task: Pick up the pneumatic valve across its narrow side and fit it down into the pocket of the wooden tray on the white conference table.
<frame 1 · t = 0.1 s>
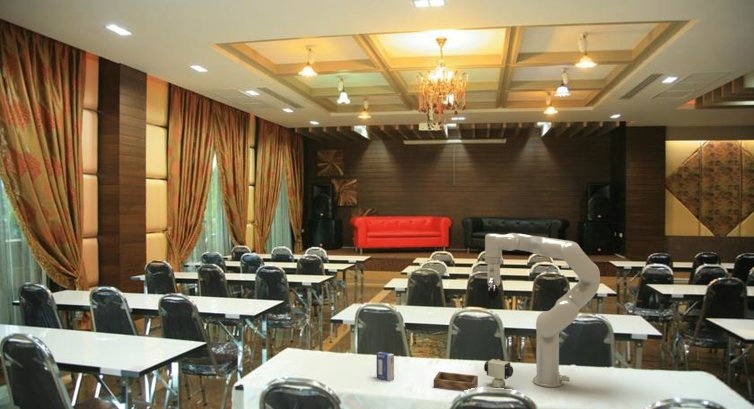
hand: (493, 297, 245), 37 cm above the table, tool pointing down, fingers open, 9 cm apart
walkman: (385, 379, 242), on the table
wooden tray: (455, 385, 234), on the table
pneumatic valve: (498, 387, 233), on the table
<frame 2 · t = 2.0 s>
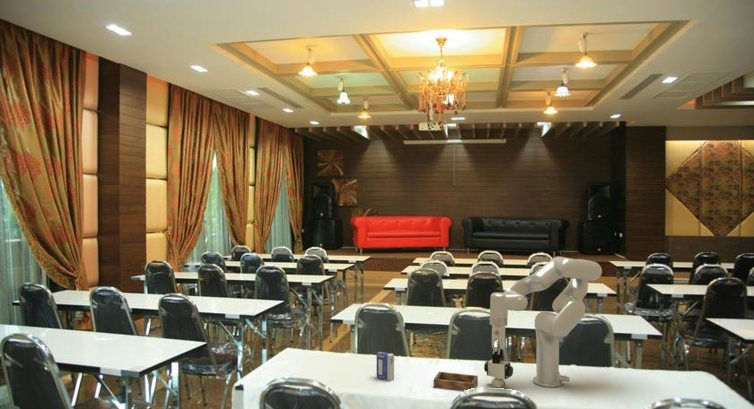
hand: (497, 360, 232), 11 cm above the table, tool pointing down, fingers open, 9 cm apart
nothing on the table moved.
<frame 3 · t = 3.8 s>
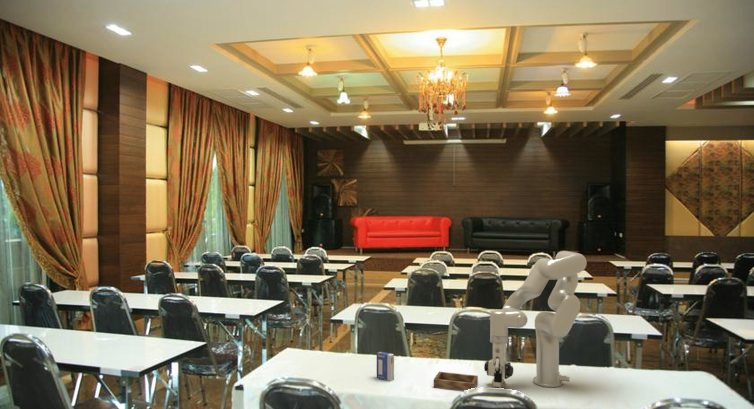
hand: (498, 379, 233), 3 cm above the table, tool pointing down, fingers closed on pneumatic valve, 5 cm apart
pneumatic valve: (498, 386, 233), on the table, touching gripper
everything else where it was.
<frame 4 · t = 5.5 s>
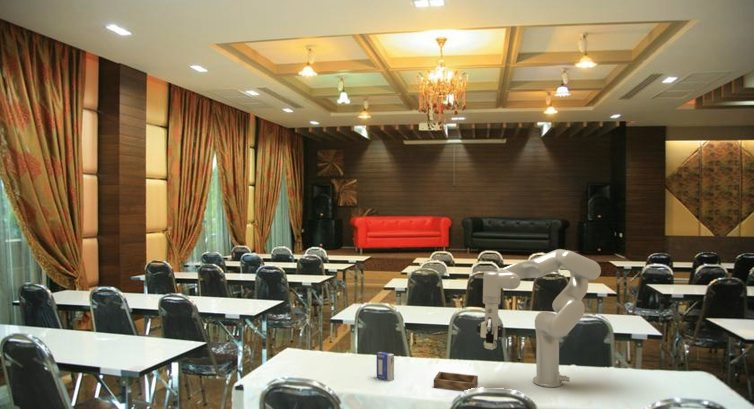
hand: (490, 340, 233), 20 cm above the table, tool pointing down, fingers closed on pneumatic valve, 5 cm apart
pneumatic valve: (490, 348, 233), point 17 cm above the table, touching gripper
everything else where it was.
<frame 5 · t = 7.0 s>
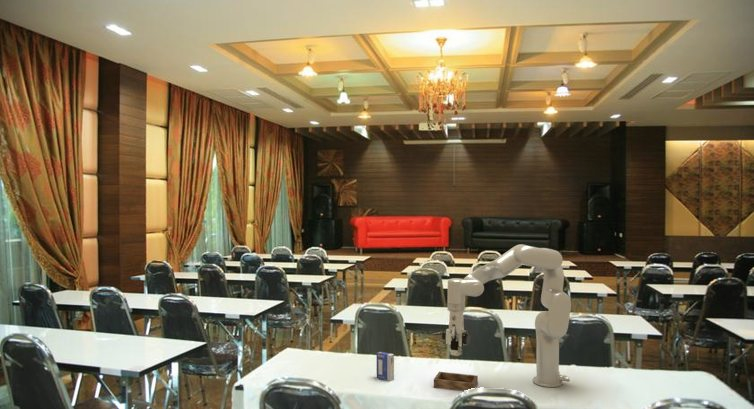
hand: (455, 347, 234), 17 cm above the table, tool pointing down, fingers closed on pneumatic valve, 5 cm apart
pneumatic valve: (456, 355, 234), point 13 cm above the table, touching gripper
everything else where it was.
when the fingers open (5 cm above the table, at t = 9.8 s): pneumatic valve drops 1 cm, resting on wooden tray.
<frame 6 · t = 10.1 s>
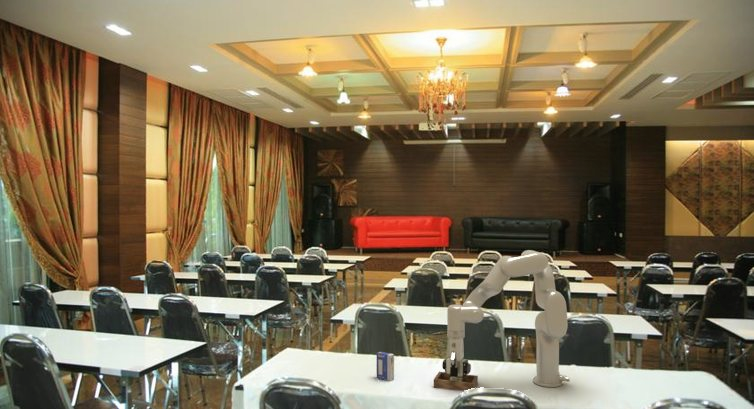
hand: (455, 372, 234), 6 cm above the table, tool pointing down, fingers open, 8 cm apart
pneumatic valve: (456, 384, 234), resting on wooden tray
everything else where it was.
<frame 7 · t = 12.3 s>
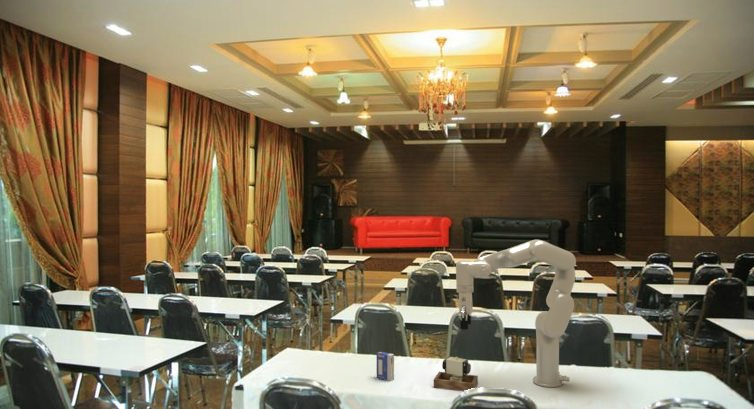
hand: (465, 326, 239), 25 cm above the table, tool pointing down, fingers open, 9 cm apart
nothing on the table moved.
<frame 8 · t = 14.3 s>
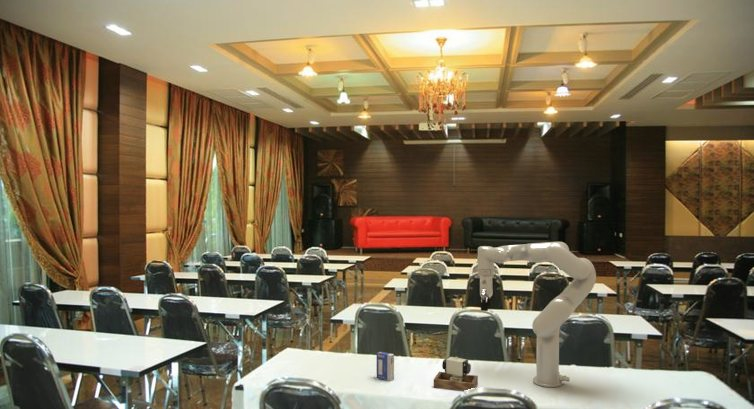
hand: (485, 308, 251), 30 cm above the table, tool pointing down, fingers open, 9 cm apart
nothing on the table moved.
at the end: pneumatic valve 0.6 cm off-centre on the wooden tray, point 0.4 cm above the wooden tray's base; pneumatic valve tilted 0°; the gripper is holding nothing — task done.
